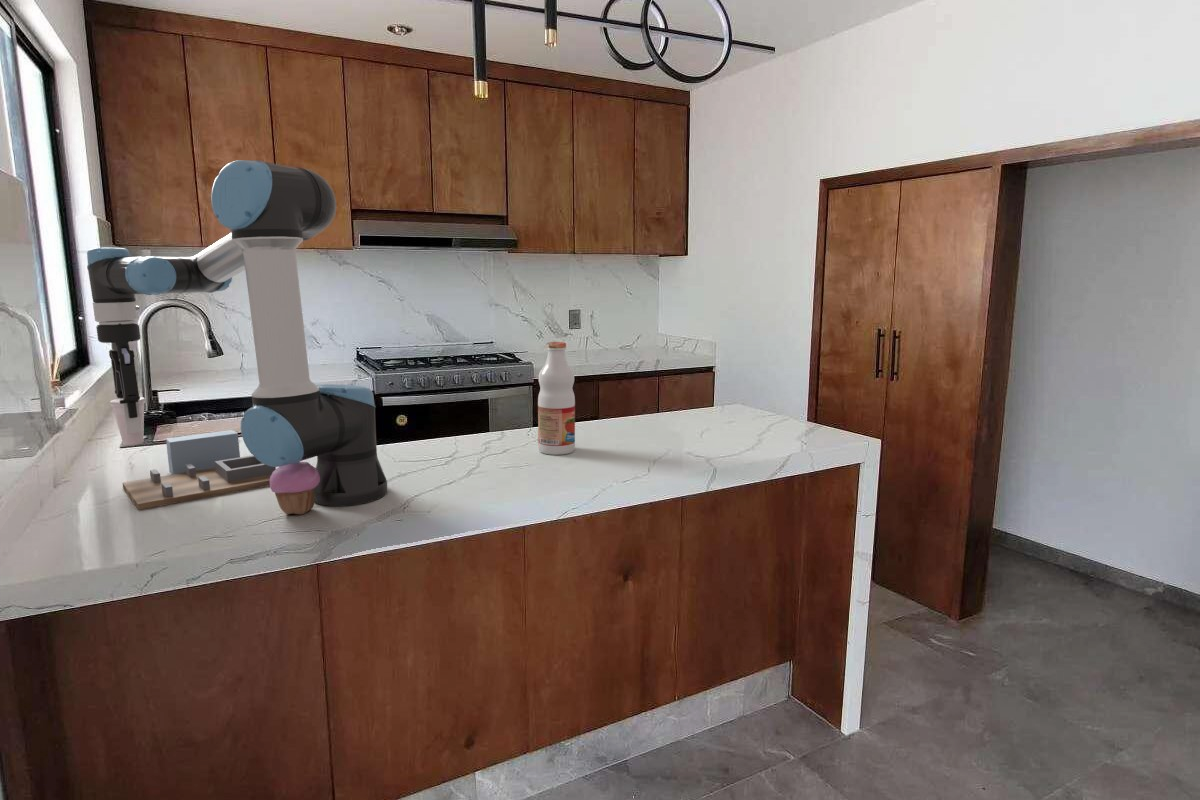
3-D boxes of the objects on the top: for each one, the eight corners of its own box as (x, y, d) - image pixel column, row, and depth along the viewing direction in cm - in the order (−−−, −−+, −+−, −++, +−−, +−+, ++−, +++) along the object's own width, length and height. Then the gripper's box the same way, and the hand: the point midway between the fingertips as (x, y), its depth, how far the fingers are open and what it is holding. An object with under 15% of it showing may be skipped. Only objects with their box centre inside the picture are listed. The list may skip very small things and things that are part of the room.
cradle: (276, 473, 160) (275, 462, 160) (227, 482, 154) (226, 471, 153) (262, 464, 167) (261, 453, 167) (215, 472, 161) (214, 461, 161)
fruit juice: (537, 446, 190) (536, 340, 185) (573, 445, 191) (573, 340, 186) (539, 456, 181) (538, 344, 176) (576, 455, 182) (576, 344, 177)
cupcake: (328, 505, 144) (325, 456, 142) (312, 520, 135) (308, 468, 133) (282, 505, 143) (279, 456, 141) (264, 520, 135) (260, 468, 133)
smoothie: (111, 447, 152) (101, 382, 150) (122, 441, 159) (113, 378, 156) (145, 445, 154) (136, 380, 152) (154, 438, 160) (146, 376, 158)
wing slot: (210, 489, 149) (209, 480, 148) (166, 497, 144) (165, 487, 143) (191, 472, 161) (190, 463, 160) (150, 479, 156) (149, 470, 155)
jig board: (287, 482, 158) (287, 477, 158) (138, 509, 140) (137, 503, 140) (262, 464, 171) (261, 459, 171) (123, 487, 153) (122, 482, 153)
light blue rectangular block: (235, 462, 174) (232, 429, 173) (240, 466, 171) (237, 433, 169) (169, 472, 165) (165, 438, 164) (173, 476, 162) (169, 442, 160)
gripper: (146, 323, 147) (160, 434, 151) (130, 319, 161) (143, 420, 165) (102, 326, 142) (118, 440, 146) (89, 321, 156) (104, 425, 161)
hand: (131, 429), depth 156 cm, fingers closed on smoothie, 6 cm apart
